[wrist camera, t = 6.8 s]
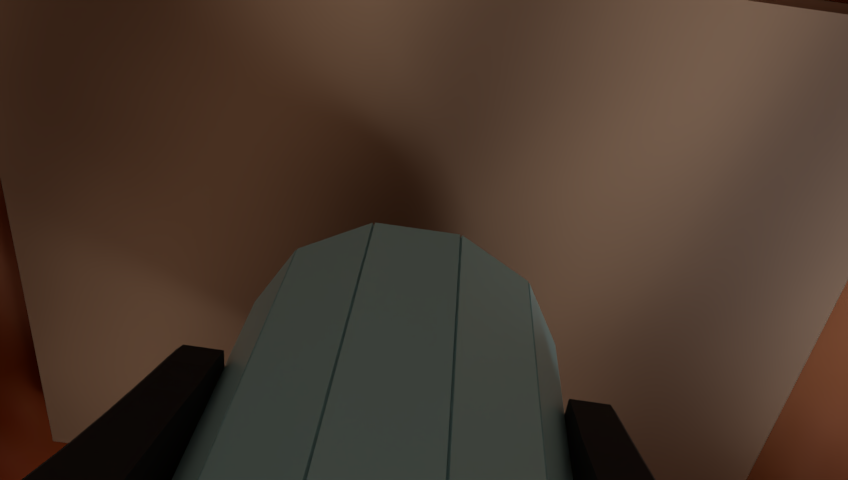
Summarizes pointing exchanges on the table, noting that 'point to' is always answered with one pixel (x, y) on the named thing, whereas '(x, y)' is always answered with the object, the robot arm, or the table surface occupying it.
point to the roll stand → (441, 183)
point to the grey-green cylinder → (387, 370)
